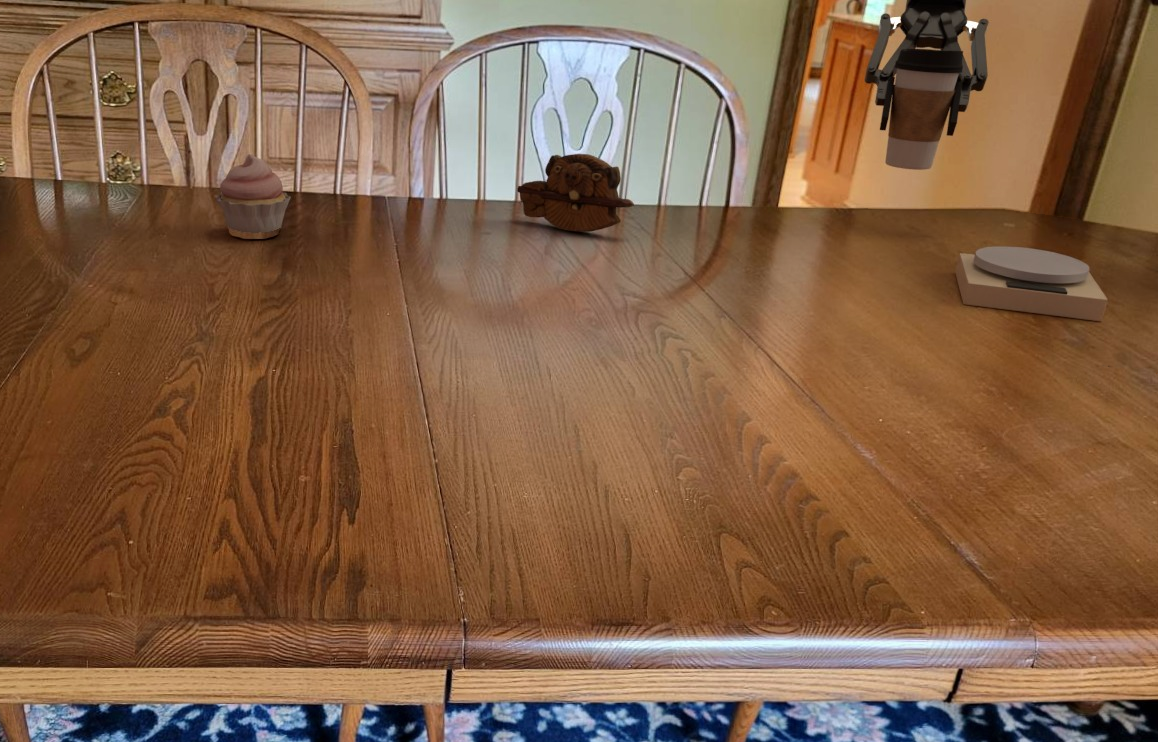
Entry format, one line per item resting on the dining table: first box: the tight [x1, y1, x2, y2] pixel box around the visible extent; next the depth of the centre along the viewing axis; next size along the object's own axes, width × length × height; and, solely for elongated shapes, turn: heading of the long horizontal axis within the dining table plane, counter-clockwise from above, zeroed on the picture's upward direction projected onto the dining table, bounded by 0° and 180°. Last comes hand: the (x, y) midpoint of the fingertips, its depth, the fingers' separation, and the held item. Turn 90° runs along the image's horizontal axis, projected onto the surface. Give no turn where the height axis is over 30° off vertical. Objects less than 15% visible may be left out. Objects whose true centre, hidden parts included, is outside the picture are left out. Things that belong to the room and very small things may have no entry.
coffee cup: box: [885, 48, 964, 171], centre depth 145 cm, size 8×8×15 cm
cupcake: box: [214, 153, 291, 233], centre depth 137 cm, size 9×9×10 cm
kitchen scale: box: [954, 245, 1109, 322], centre depth 126 cm, size 14×14×4 cm
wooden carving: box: [516, 153, 635, 233], centre depth 145 cm, size 16×5×10 cm, turn 60°
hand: (917, 126), depth 143 cm, fingers closed on coffee cup, 8 cm apart
